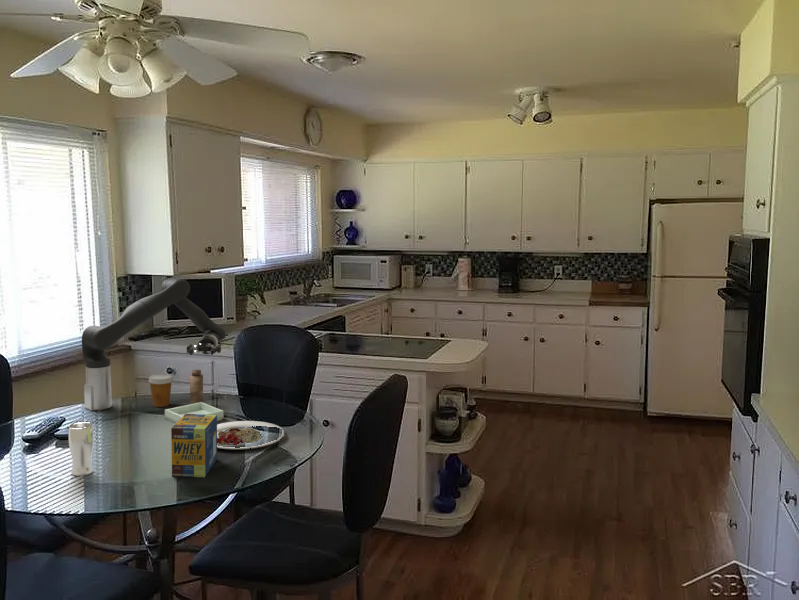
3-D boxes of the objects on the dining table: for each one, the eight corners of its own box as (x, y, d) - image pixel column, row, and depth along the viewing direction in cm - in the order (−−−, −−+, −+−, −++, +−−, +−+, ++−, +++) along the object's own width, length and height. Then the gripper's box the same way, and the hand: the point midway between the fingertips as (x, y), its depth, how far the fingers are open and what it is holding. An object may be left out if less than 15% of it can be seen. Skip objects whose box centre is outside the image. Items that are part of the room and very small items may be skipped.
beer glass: (88, 466, 215) (86, 420, 213) (99, 472, 211) (97, 425, 209) (65, 472, 210) (64, 425, 208) (76, 478, 205) (74, 430, 203)
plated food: (293, 428, 259) (293, 419, 258) (271, 456, 229) (271, 446, 229) (217, 423, 262) (217, 415, 261) (185, 450, 232) (184, 441, 232)
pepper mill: (194, 408, 279) (194, 372, 277) (187, 405, 283) (187, 370, 281) (205, 406, 283) (205, 370, 281) (199, 403, 286) (198, 368, 285)
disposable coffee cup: (178, 404, 284) (177, 376, 283) (159, 409, 276) (158, 380, 275) (162, 400, 289) (162, 372, 288) (143, 405, 281) (143, 377, 280)
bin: (186, 428, 254) (186, 419, 254) (164, 418, 265) (164, 409, 265) (223, 419, 266) (223, 410, 265) (201, 410, 277) (201, 402, 276)
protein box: (171, 477, 209) (170, 428, 206) (185, 458, 224) (185, 413, 222) (205, 477, 209) (205, 428, 207) (218, 459, 224) (217, 413, 222)
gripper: (191, 335, 305) (183, 344, 289) (224, 335, 306) (218, 343, 290) (192, 352, 306) (184, 361, 290) (224, 351, 308) (218, 361, 292)
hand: (201, 352), depth 290 cm, fingers open, 8 cm apart
